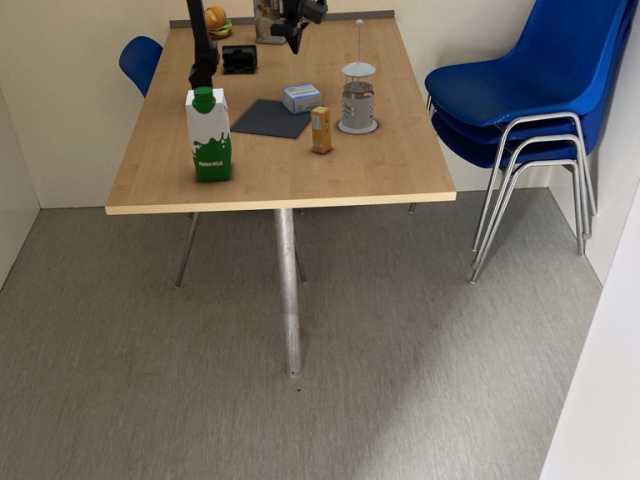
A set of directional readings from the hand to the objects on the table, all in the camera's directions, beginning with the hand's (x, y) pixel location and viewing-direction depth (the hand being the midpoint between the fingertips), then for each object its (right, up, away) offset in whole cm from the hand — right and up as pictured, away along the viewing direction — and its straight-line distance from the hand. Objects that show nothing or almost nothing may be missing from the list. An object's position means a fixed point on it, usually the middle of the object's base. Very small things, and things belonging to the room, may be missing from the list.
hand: (295, 53), depth 178 cm
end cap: (-16, +6, +25) cm, 31 cm away
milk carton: (-19, -37, -23) cm, 47 cm away
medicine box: (0, -9, +4) cm, 10 cm away
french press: (+15, -21, -7) cm, 26 cm away
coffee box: (-7, +22, +43) cm, 49 cm away
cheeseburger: (-26, +27, +50) cm, 62 cm away
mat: (-5, -18, -2) cm, 18 cm away
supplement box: (+6, -30, -17) cm, 35 cm away
